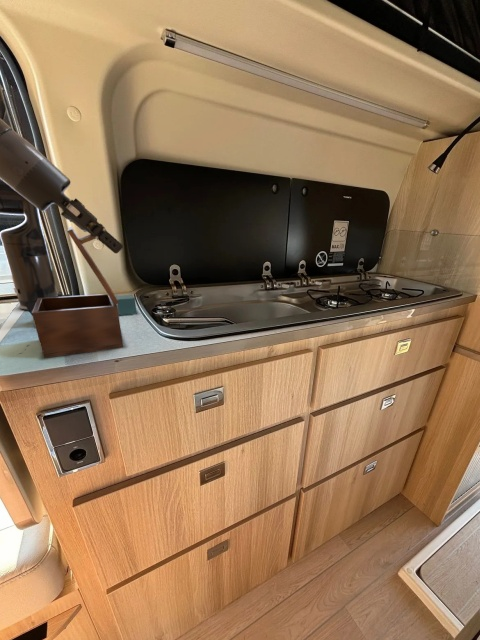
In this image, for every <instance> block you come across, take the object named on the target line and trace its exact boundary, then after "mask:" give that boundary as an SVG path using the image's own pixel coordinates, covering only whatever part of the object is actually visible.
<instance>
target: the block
mask: <svg viewBox="0 0 480 640" xmlns="http://www.w3.org/2000/svg"><path fill="white" fill-rule="evenodd" d="M115 297H116V299H117V300H118V302H119V303H118V304H116V305H117V308H118V314H119V316H127V315H137V313H138V311H137V305H136V298H135V297H134V296H133V294H123V295H121V294H120V295H115Z"/></svg>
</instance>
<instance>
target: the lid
mask: <svg viewBox="0 0 480 640" xmlns="http://www.w3.org/2000/svg"><path fill="white" fill-rule="evenodd" d="M67 233H68V235H69V237H70V238H71V240H72V241H73V242H74V244H75V246H76V247H77V248H78V250H79V252H80V254H81V255H82V256H83V258H84V259H85V261H86V262H87V264H88V266H89V268H90V269H91V270H92V272H93V274H94V275H95V277H96V278H97V280H98V282H99V283H100V284H101V285H102V287H103V289H104V290H105V292H106V294H108V295H109V296H110V298H111V299H112V301H113V303H114V304H115V305H116V304H118V303H119V302H118V300H117V299H116V297H115V296H116V295H115V293H114V291H113V289H112V287H111V286H110V285H109V283H108V282H107V280H106V278H105V277H104V275H103V273H102V271H101V270H100V268H99V267H98V266H97V264H96V262H95V261H94V259H93V258H92V256H91V255H90V253H89V252H88V250H87V248H86V246H85V245H84V244H86V243H89V242H91V241H93V240H96V239H95V238H94V237H92V236H91V235H90V234H87V235H84V236H82V237H79V236H78V234H77V233H76V231H75V230H74V228H73V226H71V227H68V228H67Z"/></svg>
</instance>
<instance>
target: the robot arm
mask: <svg viewBox="0 0 480 640" xmlns="http://www.w3.org/2000/svg"><path fill="white" fill-rule="evenodd" d="M6 112H7V106H6V101H5V98H4V93H3V89H2V85H1V84H0V215H8V216H9V215H10V216H12V215H13V216H24V217H25V219H24V221H23V222H22V223H20V224H18V225H16V226H13V227H10V228H6V229H3V230H1V231H0V240H1V244H2V247H3V251H4V255H5V259H6V261H7V265H8V268H9V272H10V276H11V279H12V282H13V285H14V287H13V290H14V293H15V294H16V297H17V300H18V304H19V309H21V310H25V311H29V310H28V309H27V307H26V306H25V302H27V301H33V300H37V299H38V298H48V297H56V296H61V295H63V292H62V291H59V292H58V290H57V285H56V282H55V277H54V273H53V268H52V264H51V259H50V255H49V250H48V247H47V243H46V238H45V235H44V231H43V226H42V221H41V215H40V211H41V212H44V211H46V210H48V209H49V208H50V207H51V206H52V205H57V207H59V208H60V209H61V211H62V212H61V213H60V215H61V216H62V217H63V218H64V219H65V220H67V221H68V222H70V223H73V224H74V225H75V226H77V227H78V229H80V230H81V231H82V232H84V233H88V234H89V235H91V236H92V237H94V238H95V239H94V240H98V241H99V242H100V243H102V244H103V245H104V246H105V247H106V248H107V249H108V250H110V251H111V252H113V254H119V253H120V252H121V250H122V249H123V248H124V246H123V244H122V243H121V241H119V240H118V239H116V238H115V237H114V236H113V235H112V234H111V233H109V232H108V231H107V229H106V227H105V226H104V225H103V224H102V223H99V222H98V218H97V217H96V216H95V215H94V214H93V213H92V212H91V211H89V210H88V209H87V208H86V206H85V205H84V204H83V203H82V202H81V201H80V200H79V199H78V198H77V197H75V198H74V199H71V198H70V197H68V196H67V195H66V194H65V191H66V190H67V189H68V188H69V187H70V185H71V180H70V178H68V176H67V175H66V174H64V172H62V171H61V170H60V169H59V168H58V167H57V166H55V164H54V163H52V162H51V161H50V160H49V159H48V158H47V157H46V156H45V155H44V154H43V153H41V152H40V151H39V150H38V149H37V148H36V147H35V146H34V145H33V144H32V143H30V141H28V140H27V139H25V138H24V137H23V136H21V135H20V134H19V133H17V132H16V131H15V130H13V128H12V127H11V126H10V125H9V124H8V123H6V122H5V121H4V120H5V118H6V117H5V116H6Z"/></svg>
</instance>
